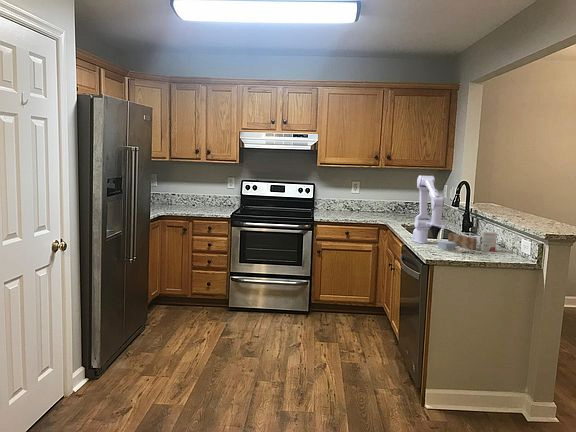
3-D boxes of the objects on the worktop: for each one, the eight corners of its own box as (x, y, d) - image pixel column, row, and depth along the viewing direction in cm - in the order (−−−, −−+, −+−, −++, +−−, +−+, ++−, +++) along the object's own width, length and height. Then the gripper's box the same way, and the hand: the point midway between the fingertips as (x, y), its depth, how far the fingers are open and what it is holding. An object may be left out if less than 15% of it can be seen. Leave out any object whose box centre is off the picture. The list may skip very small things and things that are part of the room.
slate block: (437, 247, 300) (438, 241, 299) (447, 247, 303) (447, 240, 303) (446, 250, 293) (446, 243, 293) (455, 249, 297) (456, 242, 297)
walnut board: (447, 243, 312) (448, 233, 311) (451, 243, 314) (451, 233, 313) (472, 250, 295) (473, 238, 294) (475, 249, 296) (476, 238, 296)
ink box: (492, 249, 298) (493, 231, 297) (495, 251, 293) (497, 232, 292) (478, 249, 298) (480, 230, 296) (481, 251, 293) (483, 232, 291)
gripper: (423, 215, 295) (421, 236, 297) (440, 218, 282) (438, 241, 284) (431, 215, 298) (429, 236, 300) (449, 218, 285) (447, 240, 287)
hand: (434, 238), depth 292 cm, fingers closed
